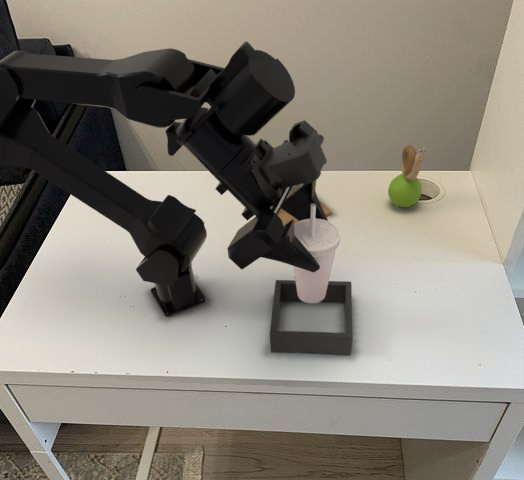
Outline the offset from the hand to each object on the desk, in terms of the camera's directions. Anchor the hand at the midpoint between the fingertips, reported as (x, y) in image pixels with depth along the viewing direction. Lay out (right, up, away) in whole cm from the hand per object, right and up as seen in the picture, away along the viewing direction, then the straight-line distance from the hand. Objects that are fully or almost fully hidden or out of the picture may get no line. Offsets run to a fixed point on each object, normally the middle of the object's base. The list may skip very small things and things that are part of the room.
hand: (324, 252), depth 66 cm
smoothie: (-1, -4, +6) cm, 7 cm away
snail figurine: (+17, +13, +27) cm, 34 cm away
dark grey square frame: (-1, -8, +10) cm, 13 cm away
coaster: (-2, +13, +28) cm, 31 cm away
